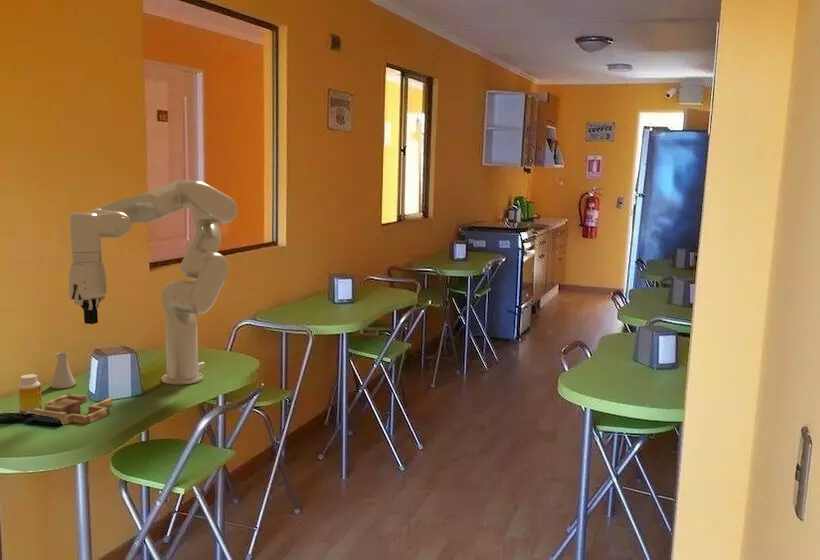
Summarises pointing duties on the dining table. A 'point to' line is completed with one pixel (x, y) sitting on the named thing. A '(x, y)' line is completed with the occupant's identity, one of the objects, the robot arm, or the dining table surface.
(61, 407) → the walnut block
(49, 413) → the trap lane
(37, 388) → the supplement bottle
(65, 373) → the flask
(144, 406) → the dining table surface
